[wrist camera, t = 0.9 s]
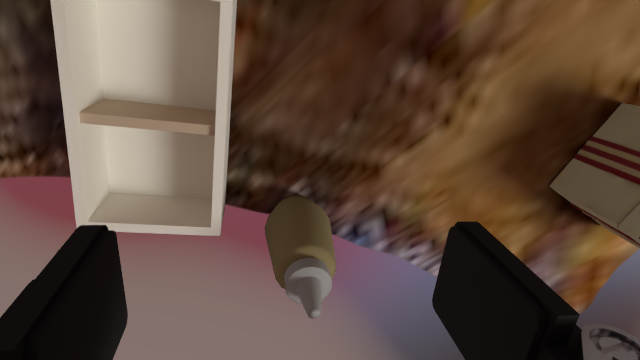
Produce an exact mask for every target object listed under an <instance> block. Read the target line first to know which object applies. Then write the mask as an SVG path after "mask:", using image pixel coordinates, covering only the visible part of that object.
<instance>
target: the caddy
mask: <svg viewBox="0 0 640 360" xmlns="http://www.w3.org/2000/svg"><path fill="white" fill-rule="evenodd" d="M50 1H51V9H52V18H53V27H54V35H55V44H56V53H57V61H58V70H59V79H60V87H61V96H62V105H63V113H64V122H65V131H66V139H67V148H68V157H69V165H70V174H71V182H72V191H73V200H74V208H75V217H76V225H77V228H78V227H79V226H80V225H106V226H107V227H108V230H114V231H115V232H138V233H161V234H185V235H209V236H220V235H221V228H222V222H223V215H224V209H225V199H226V182H227V164H228V147H229V129H230V112H231V94H232V77H233V59H234V42H235V24H236V7H237V0H50Z"/></svg>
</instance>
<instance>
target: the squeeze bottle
mask: <svg viewBox="0 0 640 360" xmlns="http://www.w3.org/2000/svg"><path fill="white" fill-rule="evenodd" d="M265 233H266V239H267V244H268V248H269V253H270V257H271V261H272V265H273V270H274V274H275V278H276V280H277V281H278V283H279V284H280V286H281V287H282V288H284V289H285V290H286V294H287V295H288V296H289V298H290V299H291V300H293V301H295V302H297V303H300V304H303V306H304V308H305V310H306V312H307V314H308V316H309V317H310V318H313V319H314V318H317V317H319V316H320V314H321V302H322V299H324V298H325V297H326V295H327V294H328V293H329V292H330V290H331V287H332V278H333V276H334V274H335V272H336V261H335V254H334V247H333V241H332V234H331V228H330V221H329V218H328V217H327V215H326V213H325V211H324V210H323V209H322V208H320V207H319V206H318V205H316V204H315V203H314V202H312V201H311V200H309V199H308V198H306V197H302V196H290V197H287V198H285V199H283V200H281V201H280V202H279V203H278V204H277V206H276V207H275V208H274V209H273V211H272V212H271V214H270V215H269V217H268V220H267V223H266V226H265Z"/></svg>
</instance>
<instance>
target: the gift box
mask: <svg viewBox="0 0 640 360" xmlns="http://www.w3.org/2000/svg"><path fill="white" fill-rule="evenodd" d="M549 187H550V188H552V189H553V190H554V191H556V192H557V193H558V194H560V195H561V196H563V197H564V198H565V199H567V200H568V201H569V202H570V205H571V206H572V207H574V208H576V209H579V210H581V211H582V212H583V213H584V214H585V215H587V216H589V217H591V218H592V219H594V220H595V221H596V222H598V223H599V224H600V225H602V226H603V227H604V228H606V229H608V230H609V231H611V232H613V233H615V234H616V235H618V236H620V237H621V238H623V239H625V240H626V241H628V242H630V243H631V244H633V245H635V246H637V247H638V248H640V107H639V106H635V105H630V104H625V103H621V104H620V105H619V107H618V108H617V109H616V110H615V111H614V112H613V113H612V114H611V116H610V117H609V118H608V119H607V120H606V121H605V122H604V124H603V125H602V126H601V127H600V128H599V129H598V130H597V131H596V132H595V134H594V135H593V136H592V137H591V138H590V139H589V140H588V141H587V142H586V144H585V145H584V146H583V147H582V148H581V149H580V150H579V152H578V153H577V154H576V155H575V156H574V157H573V159H572V160H571V161H570V162H569V163H568V164H567V165H566V166H565V168H564V169H563V170H562V171H561V172H560V173H559V174H558V176H557V177H556V178H555V179H554V180H553V181H552V183H551V184H550V185H549Z"/></svg>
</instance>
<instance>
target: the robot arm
mask: <svg viewBox="0 0 640 360" xmlns="http://www.w3.org/2000/svg"><path fill="white" fill-rule="evenodd" d="M432 303H433V307H434V310H435V312H436V313H437V315H438V316H439V318H440V319H441V321H442V323H443V324H444V326H445V328H446V329H447V331H448V333H449V334H450V336H451V337H452V339H453V341H454V342H455V344H456V345H457V347H458V349H459V350H460V352H461V353H462V355H463V357H464V358H465V360H640V341H639V340H638V339H637V338H635V337H633V336H631V335H630V334H628V333H626V332H624V331H622V330H619V329H617V328H615V327H611V326H607V325H604V324H595V323H594V324H587V325H586V326H584V327H583V328H582V330H581V329H580V328H579V327H578V326H577V325H576V322H577V320H578V318H579V315H580V314H578V313H577V312H576V311H575V310H574V309H573V308H572V307H571V306H570V305H569V304H567V303H566V302H565V301H564V300H563V299H562V298H561V297H560V296H559V295H558V294H556V293H555V292H554V291H553V290H552V289H551V288H550V287H549V286H548V285H547V284H546V283H544V282H543V281H542V280H541V279H540V278H539V277H538V276H537V275H536V274H535V273H533V272H532V271H531V270H530V269H529V268H528V267H527V266H526V265H525V264H524V263H522V262H521V261H520V260H519V259H518V258H517V257H516V256H515V255H514V254H513V253H512V252H510V251H509V250H508V249H507V248H506V247H505V246H504V245H503V244H502V243H501V242H499V241H498V240H497V239H496V238H495V237H494V236H493V235H492V234H491V233H490V232H488V231H487V230H486V229H485V228H484V227H483V226H482V225H481V224H480V223H478V222H457V223H456V224H455V225H454V227H451V228H450V230H449V233H448V237H447V241H446V245H445V249H444V253H443V257H442V261H441V265H440V269H439V274H438V278H437V282H436V286H435V290H434V294H433V299H432ZM127 315H128V314H127V306H126V299H125V292H124V285H123V278H122V271H121V264H120V257H119V250H118V244H117V236H116V233H115V231H114V230H108V227H107V226H106V225H80V226H79V227H78V228H77V229H76V230H75V231H74V233H73V234H72V235H71V236H70V238H69V239H68V240H67V241H66V242H65V244H64V245H63V246H62V247H61V248H60V250H59V251H58V252H57V253H56V255H55V256H54V257H53V258H52V259H51V261H50V262H49V263H48V264H47V265H46V267H45V268H44V269H43V270H42V272H41V273H40V274H39V275H38V276H37V278H36V279H34V280H32V281H31V282H30V283H29V284H28V285H27V286H26V287H25V289H24V290H23V291H22V292H21V294H20V295H19V296H18V297H17V298H16V300H15V301H14V302H13V303H12V305H11V306H10V307H9V308H8V309H7V310H6V312H5V313H4V314H3V315H2V316H1V318H0V360H113V357H114V355H115V352H116V350H117V347H118V345H119V342H120V340H121V337H122V335H123V332H124V330H125V327H126V324H127Z"/></svg>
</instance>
